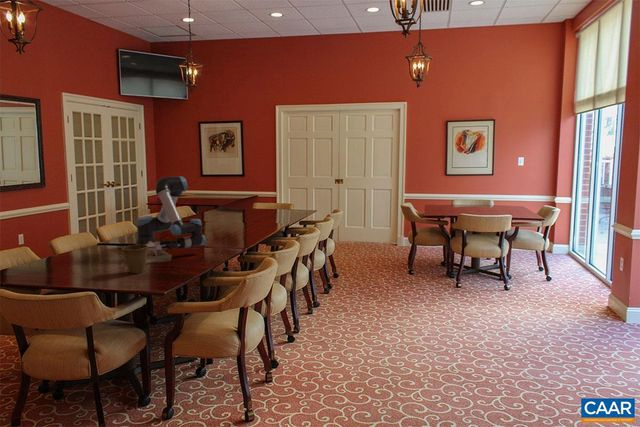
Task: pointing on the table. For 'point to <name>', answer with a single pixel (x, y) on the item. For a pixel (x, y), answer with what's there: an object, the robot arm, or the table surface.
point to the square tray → (159, 257)
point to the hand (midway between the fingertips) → (153, 246)
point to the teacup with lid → (152, 249)
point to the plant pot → (135, 257)
